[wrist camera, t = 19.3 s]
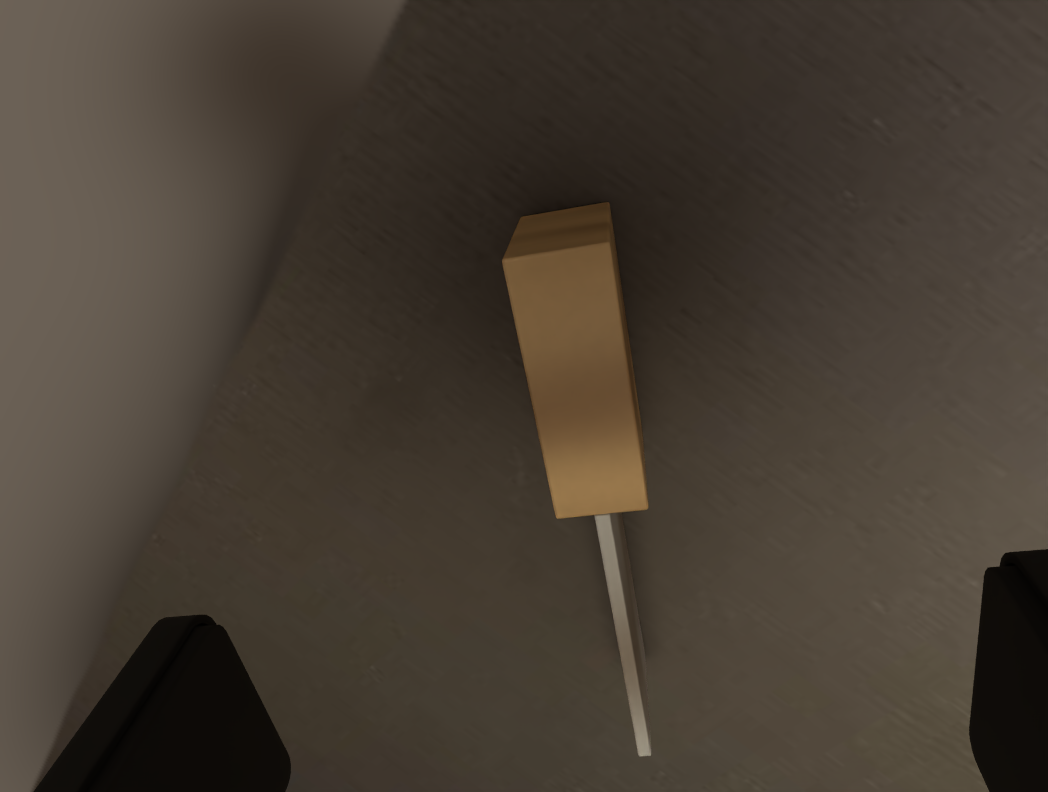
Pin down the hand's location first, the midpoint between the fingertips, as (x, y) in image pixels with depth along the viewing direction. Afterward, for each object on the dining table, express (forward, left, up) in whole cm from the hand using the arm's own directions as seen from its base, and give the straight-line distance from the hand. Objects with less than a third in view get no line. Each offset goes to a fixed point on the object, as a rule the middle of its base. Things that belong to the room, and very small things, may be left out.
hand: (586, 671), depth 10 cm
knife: (+5, 0, -13) cm, 14 cm away
